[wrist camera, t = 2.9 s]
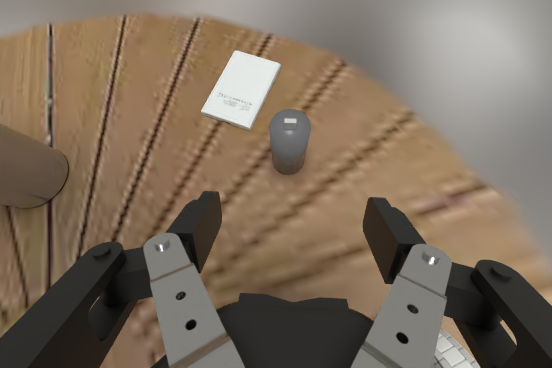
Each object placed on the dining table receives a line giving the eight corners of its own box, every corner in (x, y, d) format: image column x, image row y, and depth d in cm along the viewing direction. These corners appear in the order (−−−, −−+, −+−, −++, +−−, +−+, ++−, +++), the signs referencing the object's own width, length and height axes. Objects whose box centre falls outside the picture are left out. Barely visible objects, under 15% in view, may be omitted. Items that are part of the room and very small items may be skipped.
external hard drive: (280, 71, 39) (250, 133, 35) (236, 57, 40) (203, 116, 37) (280, 63, 37) (249, 127, 34) (234, 49, 38) (199, 110, 35)
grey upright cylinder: (271, 174, 33) (267, 139, 23) (273, 145, 34) (270, 101, 24) (303, 175, 33) (312, 140, 23) (303, 146, 34) (312, 102, 24)
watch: (404, 396, 25) (492, 497, 14) (365, 319, 27) (417, 358, 17) (448, 370, 26) (563, 451, 15) (406, 297, 28) (481, 322, 17)
